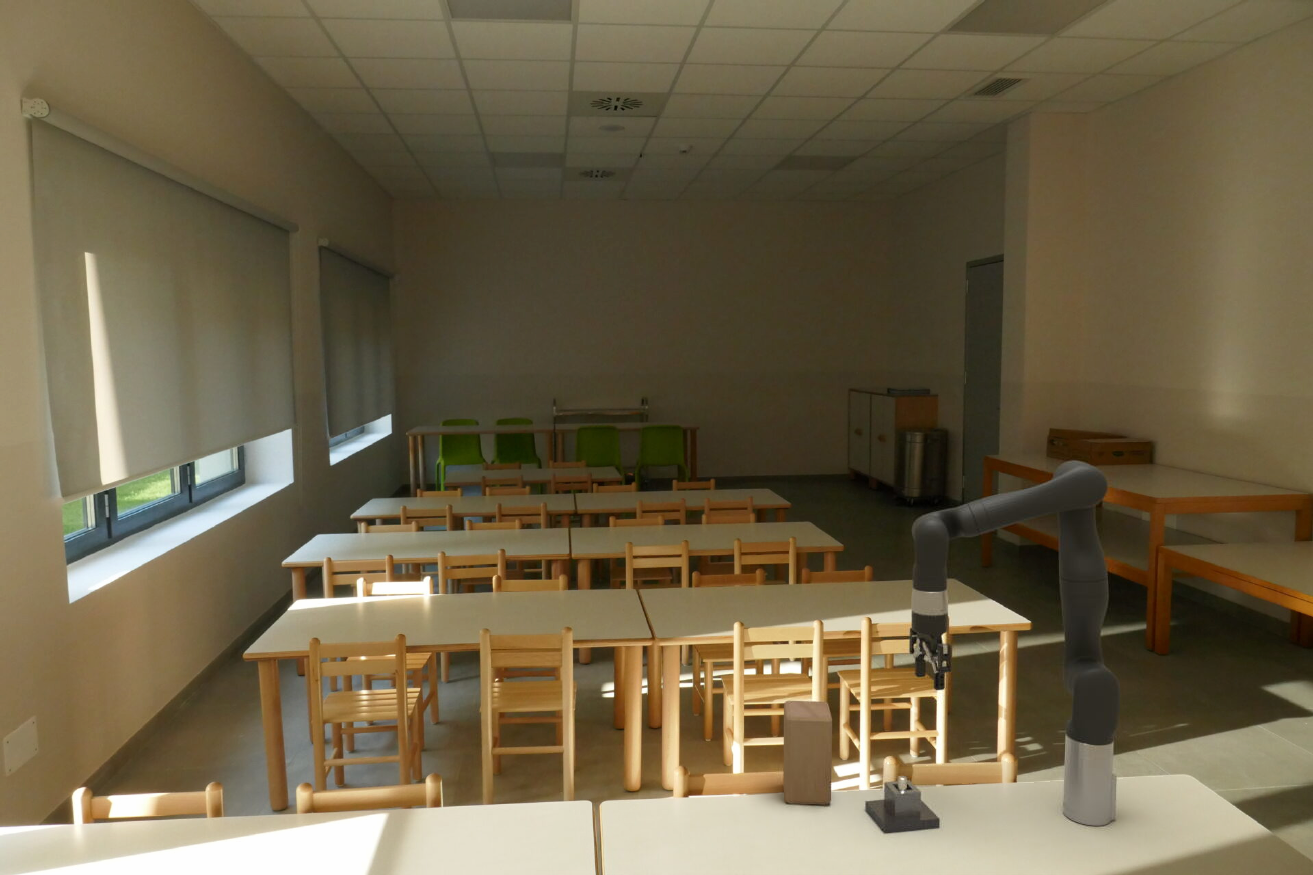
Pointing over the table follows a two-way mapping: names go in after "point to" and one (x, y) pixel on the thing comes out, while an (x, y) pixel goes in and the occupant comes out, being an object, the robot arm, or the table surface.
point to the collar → (902, 799)
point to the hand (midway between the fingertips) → (929, 682)
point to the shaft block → (901, 823)
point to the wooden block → (807, 752)
